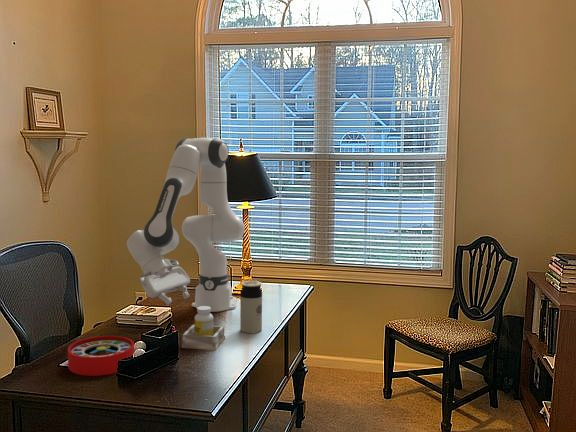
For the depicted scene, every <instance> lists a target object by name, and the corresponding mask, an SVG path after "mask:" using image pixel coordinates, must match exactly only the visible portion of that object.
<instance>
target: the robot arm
mask: <svg viewBox="0 0 576 432" xmlns="http://www.w3.org/2000/svg"><path fill="white" fill-rule="evenodd" d="M225 141H226V140H223V139H222V138H221V139H220V138H217V137H214V138H212V137H194V138H189V137H187V138H182V139H180V140H179V141H178V142H177V144H176V145H175V148H174V153H173V155H172V157H171V160H170V162H169V166H168V168H167V172H166V176H165V180H164V184H163V187H162V189H161V192H160V195H159V199H158V202H157V203H156V204H157V205H156V208H155V210H154V212H153V214H152V216H151V217H150V219H149V220H148V221H147V223H146V224H145V226H144V228H143V230H142V229H136V230H135V231H134V232H132V233H131V234H130V235H129V236H128V238H127V241H126V247H127V250H128V251H129V253H130V255H131V256H132V258H133V259H134V261H135V263H137V264H138V265H139V266H140V268H141V271H142V272H143V273H141V274H140V276H139V278H138V280H139V281H140V283H141V285H142V286H141V287H142V288H143V290H144V292H145V293H146V295H147V297H149V298H150V299H154V298H159V300H161V301H163V302H164V303H165V304H166V305H167V306H169V305H171V304H172V303H173V300H172V298H171V297H168V296H167V295H166V294H170V293H172V292H176V291H178V290H179V291H180V292H182V297H183V298H184V299H187V298H189V297H190V294H189V292H188V287H187V286H188V285H190V283H191V278H190V277H189V275H188V273H187V272H186V271H185V270H184V269H183V268H182V267H181V266H179V265H180V263H179V261H178V260H176V259H170V258H165V257H164V256H165V255H166V254H169V253H171V252H173V251H174V250H175V249H177V248H178V245H179V244H180V235H179V232H177V230H176V229H175V228H174V227H173V215H174V213H175V211H176V208H177V204H178V201H179V199H180V198H181V197H183V196H186V195H188V194H190V193H192V191H193V189H194V187H195V185H196V181H197V179H198V174H199V201H200V202H201V203H202V204H203V205H205V206H206V207H207V208H210V209H212V210H213V212H214V214H213V215H211V214H210V215H208V214H207V215H201V214H200V215H199V214H197V215H196V214H195V215H190V216H187V217H186V218H184V220H183V222H182V224H181V234H182V235H183V238H185V239H186V240H187V241H188V242H189V243H191V244H192V245H193V246H194V248H195V250H196V252H197V255H198V261H199V274H198V285H197V286H196V287H195V294H194V295H195V298H194V299H195V300H194V302H192V303H191V307H194V308H196V309H197V308H198V307H200V306H209V307H211V312H212V313H213V312H214V313H215V312H223V311H227V310H234V309H236V307H237V301H238V298H237V297H235V296H233V289H232V288H233V287H232V286H231V285H230V283H229V272H227V269H228V268H227V267H228V266H227V263H228V262H227V261H228V260H227V258H228V257H227V256H226V254H225V252H223V251H221V250H219V249H217V248H216V247H214V246H213V243H217V242H218V243H230V242H231V243H232V242H237V241H241V239H242V238H243V236H244V234H245V230H246V229H245V228H246V227H245V223H244V221H243V219H242V218H241V217H239V216H238V215H237V214H236V213H235V212H234V211H233V209H232V208H231V206H230V204H229V200H228V190H227V189H228V188H227V187H228V185H227V181H228V179H227V178H228V177H227V168H226V162H227V161H228V159H229V155H230V154H229V152H230V151H229V146H228V144H227V143H226V142H225ZM199 168H200V170H199ZM211 312H210V313H211Z"/></svg>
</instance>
